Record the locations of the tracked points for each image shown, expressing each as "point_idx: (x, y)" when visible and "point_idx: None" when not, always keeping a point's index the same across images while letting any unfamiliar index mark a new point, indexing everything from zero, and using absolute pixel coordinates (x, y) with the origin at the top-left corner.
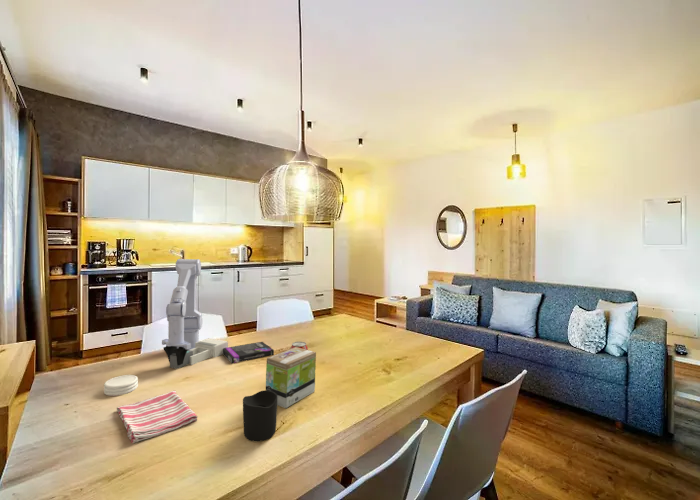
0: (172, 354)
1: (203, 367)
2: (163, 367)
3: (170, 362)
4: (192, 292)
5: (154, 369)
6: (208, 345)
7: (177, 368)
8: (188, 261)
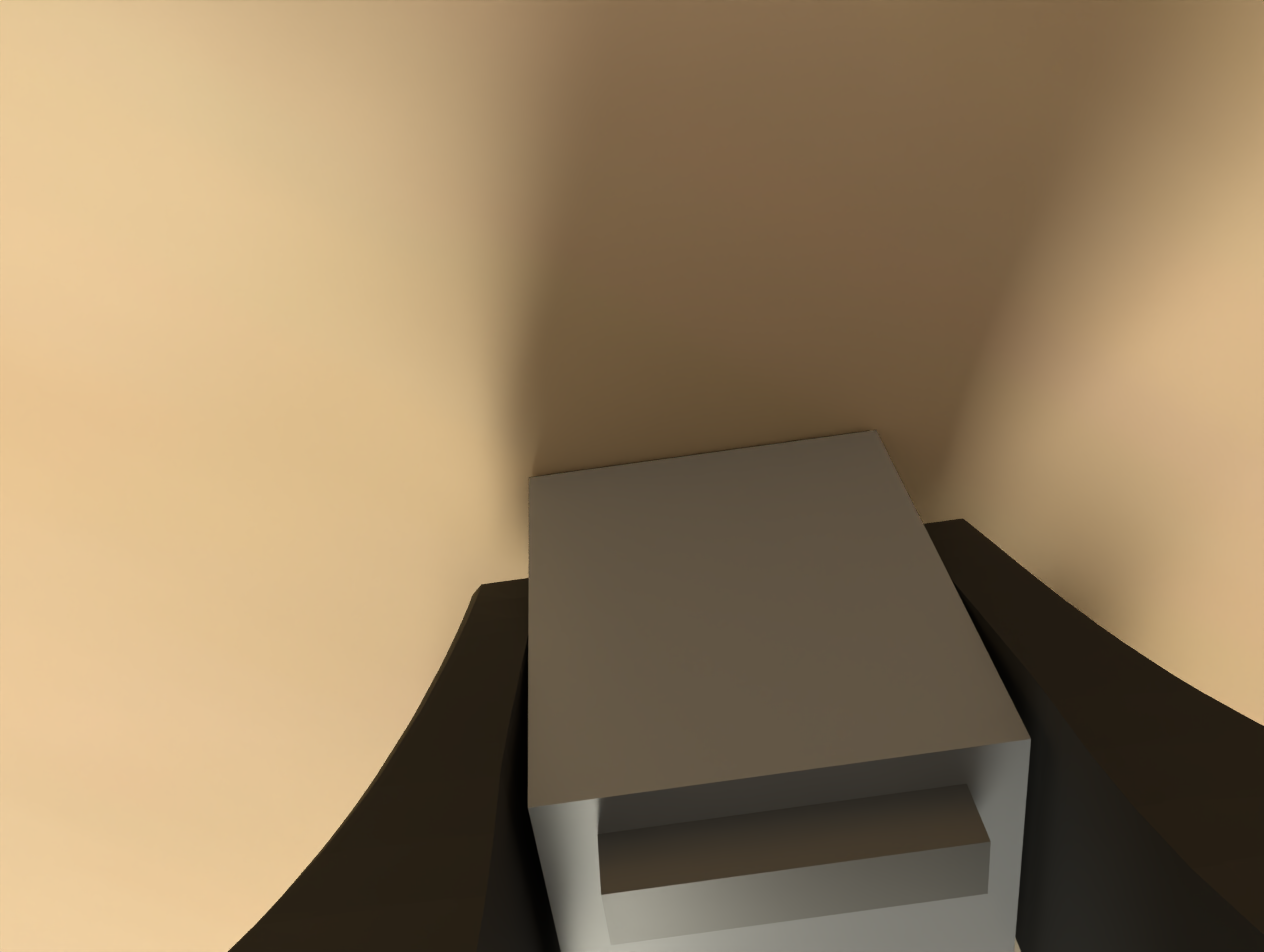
0: (919, 834)
1: (8, 910)
2: (1085, 312)
3: (893, 538)
4: None
5: (1253, 11)
6: None
7: (529, 503)
8: None
